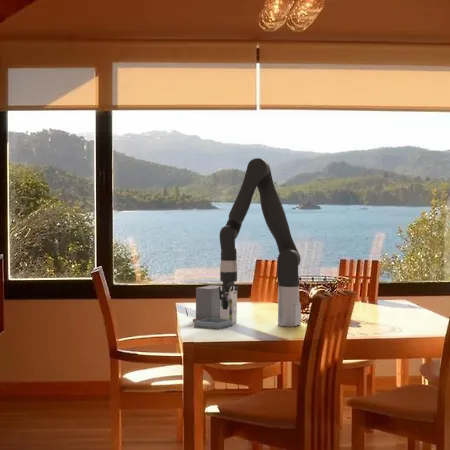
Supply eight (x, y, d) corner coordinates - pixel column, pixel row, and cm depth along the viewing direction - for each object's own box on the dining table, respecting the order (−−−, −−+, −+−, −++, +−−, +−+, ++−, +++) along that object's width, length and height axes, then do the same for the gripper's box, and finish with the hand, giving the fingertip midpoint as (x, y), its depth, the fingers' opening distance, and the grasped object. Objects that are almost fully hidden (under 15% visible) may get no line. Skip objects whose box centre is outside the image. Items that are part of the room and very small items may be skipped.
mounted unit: (229, 318, 381) (229, 286, 380) (212, 323, 367) (212, 289, 366) (210, 316, 385) (210, 284, 385) (192, 321, 371) (192, 288, 371)
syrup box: (219, 323, 366) (219, 290, 366) (225, 321, 371) (226, 289, 371) (231, 324, 363) (231, 291, 363) (237, 322, 369) (237, 290, 368)
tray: (232, 325, 360) (232, 319, 360) (218, 329, 349) (218, 323, 349) (208, 323, 365) (208, 317, 365) (194, 327, 355) (194, 321, 355)
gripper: (228, 269, 375) (228, 306, 375) (213, 271, 362) (213, 309, 362) (243, 269, 371) (243, 307, 372) (228, 272, 358) (228, 310, 359)
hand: (228, 308), depth 367 cm, fingers closed on syrup box, 6 cm apart
